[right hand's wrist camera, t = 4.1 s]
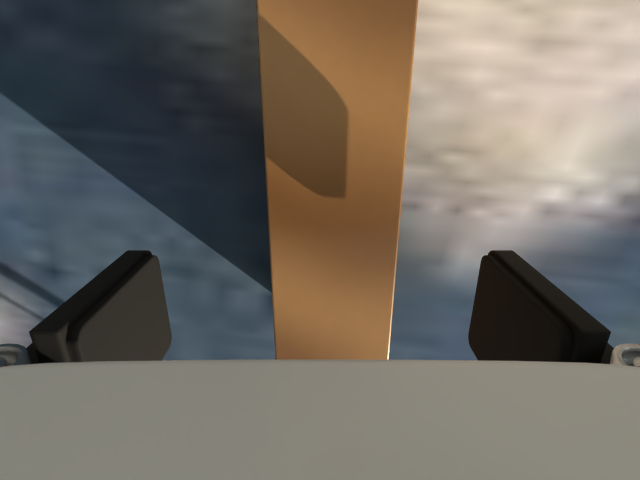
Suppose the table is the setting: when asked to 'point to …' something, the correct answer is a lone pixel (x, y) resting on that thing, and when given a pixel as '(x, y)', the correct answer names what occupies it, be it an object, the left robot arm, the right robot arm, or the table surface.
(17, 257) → the table surface
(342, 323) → the beam
